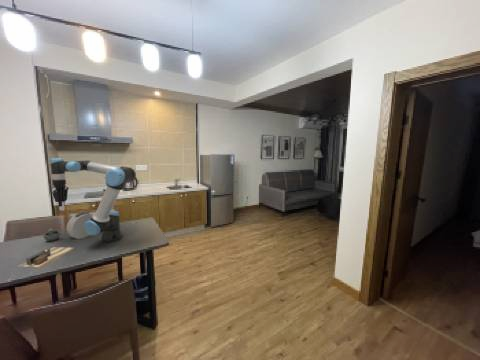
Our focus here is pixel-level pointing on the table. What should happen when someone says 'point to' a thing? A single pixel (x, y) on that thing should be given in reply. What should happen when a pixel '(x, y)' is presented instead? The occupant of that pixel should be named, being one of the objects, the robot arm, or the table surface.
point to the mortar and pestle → (51, 235)
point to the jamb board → (48, 257)
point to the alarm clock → (78, 225)
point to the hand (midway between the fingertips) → (62, 210)
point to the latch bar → (44, 252)
